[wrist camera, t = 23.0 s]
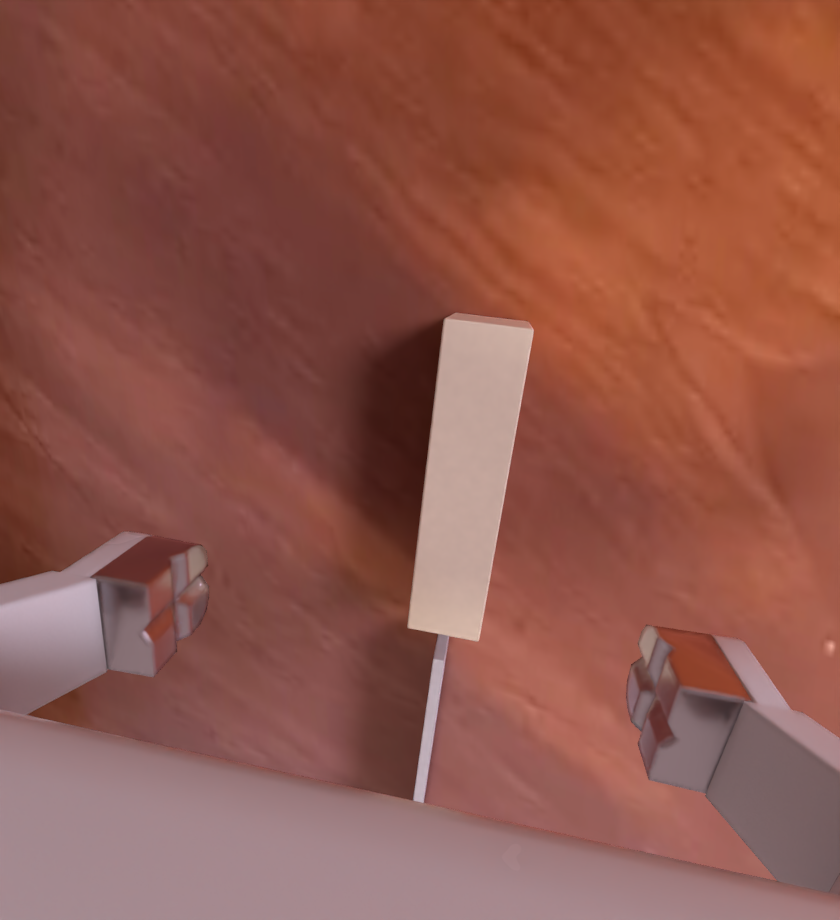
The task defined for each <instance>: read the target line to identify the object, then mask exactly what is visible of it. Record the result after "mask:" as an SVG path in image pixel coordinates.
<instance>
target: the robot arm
mask: <svg viewBox="0 0 840 920" xmlns="http://www.w3.org/2000/svg"><path fill="white" fill-rule="evenodd" d="M207 566H208V560H207V550H206V549H205V548H204V547H203V546H202V545H199V544H194V543H189V542H184V541H179V540H174V539H169V538H164V537H159V536H152V535H150V534H144V533H138V532H132V531H129V532H122V533H120V534H118V535H117V536H115V537H114V538H112V539H111V540H109V541H108V542H106V543H105V544H103V545H101V546H100V547H98V548H97V549H95V550H94V551H92V552H91V553H89V554H87V555H86V556H84V557H83V558H81V559H80V560H78V561H77V562H75V563H74V564H72V565H70V566H69V567H67V568H66V569H64V570H63V571H61V572H56V571H49V572H45V573H41V574H38V575H34V576H30V577H26V578H22V579H18V580H14V581H10V582H7V583H3V584H0V920H840V738H839V737H837V736H836V735H834V734H833V733H831V732H830V731H828V730H827V729H826V728H824V727H823V726H821V725H820V724H818V723H817V722H816V721H814V720H813V719H811V718H810V717H808V716H807V715H805V714H804V713H803V712H799V711H794V710H791V709H790V707H789V706H788V704H787V703H786V701H785V700H784V699H783V697H782V696H781V694H780V693H779V691H778V690H777V688H776V687H775V686H774V684H773V683H772V681H771V680H770V678H769V677H768V675H767V674H766V672H765V671H764V670H763V668H762V667H761V665H760V664H759V662H758V661H757V659H756V658H755V657H754V655H753V654H752V652H751V651H750V649H749V648H748V646H747V645H746V644H745V642H743V641H741V640H740V639H738V638H734V637H727V636H720V635H713V634H703V633H697V632H691V631H684V630H678V629H671V628H665V627H658V626H652V625H646V626H645V627H644V629H643V630H642V632H641V635H640V638H639V641H638V646H639V649H640V652H641V654H642V657H641V658H640V659H638V660H637V661H636V662H634V663H633V664H631V667H630V671H629V675H628V679H627V689H626V700H627V709H628V712H629V716H630V720H631V722H632V723H633V724H634V725H635V726H636V727H637V728H638V729H639V730H640V731H641V735H640V738H639V741H638V746H639V750H640V753H641V756H642V759H643V763H644V766H645V769H646V772H647V776H648V779H649V780H651V781H655V782H660V783H664V784H668V785H672V786H677V787H681V788H685V789H689V790H694V791H698V792H702V793H706V795H705V796H706V798H707V799H708V800H709V801H710V802H711V803H712V805H713V806H714V807H715V808H716V809H717V810H718V812H719V813H720V814H721V815H722V816H723V818H724V819H725V820H726V821H727V822H728V823H729V825H730V826H731V827H732V828H733V829H734V830H735V832H736V833H737V834H738V835H739V836H740V837H741V839H742V840H743V841H744V842H745V843H746V845H747V846H748V847H749V848H750V849H751V850H752V852H753V853H754V854H755V855H756V856H757V857H758V859H759V860H760V861H761V862H762V863H763V864H764V866H765V867H766V868H767V869H768V870H769V872H770V873H771V874H772V875H773V876H774V877H775V879H776V880H777V881H775V880H770V879H766V878H761V877H757V876H752V875H747V874H743V873H738V872H733V871H729V870H724V869H720V868H715V867H710V866H706V865H701V864H696V863H692V862H687V861H683V860H678V859H673V858H669V857H664V856H660V855H655V854H651V853H646V852H642V851H638V850H633V849H629V848H624V847H620V846H615V845H611V844H606V843H602V842H597V841H593V840H588V839H584V838H579V837H575V836H570V835H566V834H561V833H557V832H552V831H548V830H543V829H539V828H535V827H530V826H526V825H521V824H517V823H512V822H508V821H503V820H499V819H494V818H490V817H485V816H481V815H476V814H472V813H467V812H463V811H458V810H454V809H449V808H445V807H440V806H436V805H432V804H427V803H422V802H418V801H413V800H409V799H404V798H400V797H395V796H391V795H386V794H382V793H377V792H372V791H368V790H363V789H359V788H354V787H350V786H345V785H341V784H336V783H332V782H327V781H322V780H318V779H313V778H309V777H304V776H300V775H295V774H291V773H286V772H282V771H277V770H272V769H268V768H263V767H259V766H254V765H250V764H245V763H241V762H236V761H232V760H227V759H222V758H218V757H213V756H209V755H204V754H200V753H195V752H191V751H186V750H182V749H177V748H173V747H168V746H164V745H159V744H155V743H150V742H146V741H141V740H137V739H132V738H128V737H123V736H119V735H114V734H110V733H105V732H101V731H96V730H92V729H87V728H82V727H78V726H73V725H69V724H64V723H60V722H55V721H51V720H46V719H42V718H37V717H33V716H28V715H27V714H28V713H30V712H32V711H34V710H36V709H38V708H40V707H42V706H44V705H45V704H47V703H49V702H51V701H53V700H55V699H57V698H59V697H60V696H62V695H64V694H66V693H68V692H70V691H72V690H74V689H75V688H77V687H79V686H81V685H83V684H85V683H87V682H89V681H91V680H92V679H94V678H96V677H98V676H100V675H102V674H104V673H106V672H107V669H110V670H115V671H121V672H127V673H132V674H138V675H144V676H149V677H155V675H156V674H157V673H158V672H159V671H160V670H161V669H162V668H163V666H164V665H165V664H166V663H167V662H168V661H169V660H170V659H171V657H172V656H173V655H174V654H175V653H176V652H177V643H176V641H179V640H181V639H183V638H185V637H188V636H190V635H192V634H193V632H194V631H195V630H196V629H197V628H198V626H199V625H200V624H201V621H202V619H203V617H204V615H205V613H206V610H207V606H208V600H209V586H208V584H207V583H206V582H205V580H204V579H203V577H202V576H201V574H202V572H203V571H204V570H205V569H206V568H207Z"/></svg>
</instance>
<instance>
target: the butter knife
mask: <svg viewBox="0 0 840 920" xmlns="http://www.w3.org/2000/svg"><path fill="white" fill-rule="evenodd" d="M533 334H534V330H533V328H532V326H531V325H530V323H529V322H528V321H521V320H512V319H504V318H496V317H488V316H479V315H471V314H463V313H454V314H452V315H450V316H448V317H446V318H445V319H444V320H443V328H442V336H441V345H440V353H439V362H438V370H437V379H436V387H435V395H434V404H433V412H432V421H431V429H430V438H429V446H428V455H427V463H426V472H425V480H424V488H423V497H422V505H421V514H420V522H419V531H418V539H417V548H416V556H415V564H414V573H413V581H412V590H411V598H410V607H409V615H408V624H407V626H408V628H410V629H415V630H420V631H426V632H431V633H436V634H438V636H437V642H436V647H435V652H434V657H433V662H432V669H431V677H430V684H429V691H428V698H427V705H426V712H425V719H424V726H423V733H422V740H421V747H420V754H419V761H418V768H417V775H416V782H415V789H414V796H413V801H418V802H422V803H424V798H425V792H426V785H427V778H428V772H429V765H430V759H431V752H432V746H433V739H434V733H435V726H436V720H437V713H438V707H439V700H440V693H441V687H442V680H443V674H444V667H445V661H446V654H447V648H448V641H449V636H451V637H456V638H462V639H467V640H472V641H479V638H480V632H481V627H482V621H483V615H484V610H485V604H486V599H487V593H488V587H489V582H490V576H491V570H492V565H493V559H494V553H495V548H496V542H497V537H498V531H499V525H500V520H501V514H502V508H503V503H504V497H505V491H506V486H507V480H508V474H509V469H510V463H511V458H512V452H513V446H514V441H515V435H516V429H517V424H518V418H519V412H520V407H521V401H522V396H523V390H524V384H525V379H526V373H527V367H528V362H529V356H530V350H531V345H532V339H533Z"/></svg>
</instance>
